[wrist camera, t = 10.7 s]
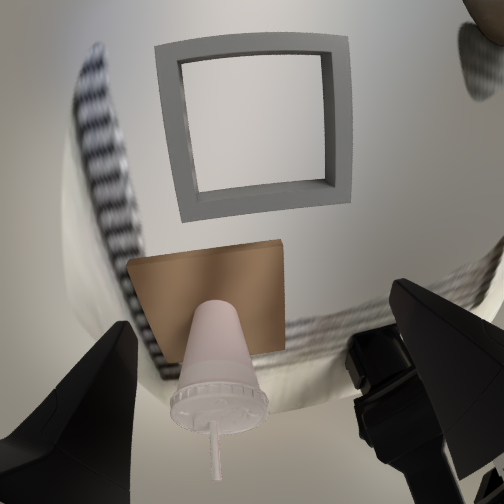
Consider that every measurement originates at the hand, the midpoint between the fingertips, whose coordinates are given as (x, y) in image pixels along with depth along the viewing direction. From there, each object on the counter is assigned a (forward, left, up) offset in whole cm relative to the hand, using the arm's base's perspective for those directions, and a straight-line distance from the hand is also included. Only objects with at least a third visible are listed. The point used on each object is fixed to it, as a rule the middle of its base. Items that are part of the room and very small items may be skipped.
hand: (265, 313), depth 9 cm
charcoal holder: (-2, -5, -12) cm, 13 cm away
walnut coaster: (+3, +10, -12) cm, 17 cm away
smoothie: (+3, +11, -12) cm, 16 cm away
